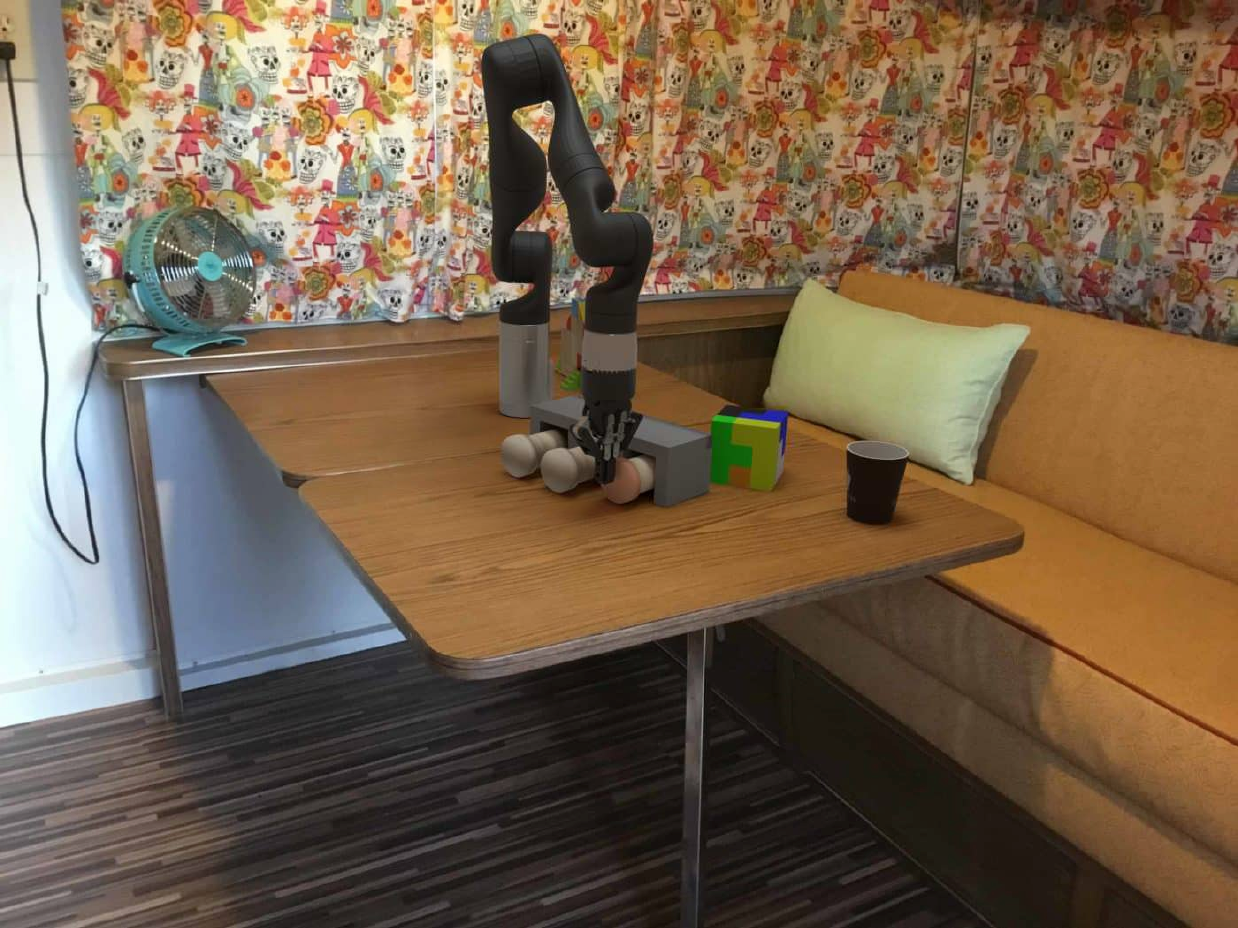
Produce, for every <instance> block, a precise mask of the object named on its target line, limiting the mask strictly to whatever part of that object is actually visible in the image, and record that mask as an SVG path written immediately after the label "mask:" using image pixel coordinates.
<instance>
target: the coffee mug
mask: <svg viewBox="0 0 1238 928" xmlns="http://www.w3.org/2000/svg"><path fill="white" fill-rule="evenodd" d="M909 456H910V452H909V450H908V449H906V448H905V447H902V446H900V445H897V444H894V443H890V442H885V441H879V440H877V441H876V440H859V441H852V442H850V443H848V444H847V445H846V515H847V517H848V518H849V519H851V520H853V521H855V522H858V523H861V524H865V525H866V524H867V525H876V526H877V525H878V526H879V525H886V524H889V523H891V522H892V521H893V518H894V514H895V510H896V507H897V502H898V499H899V494H900V491H901V488H902V484H903V481H904V476H905V471H906V468H907V464H908V460H909Z"/></svg>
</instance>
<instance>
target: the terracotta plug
mask: <svg viewBox="0 0 1238 928" xmlns="http://www.w3.org/2000/svg"><path fill="white" fill-rule="evenodd" d="M655 469H656V457H653V456H650V455H647V454H645V455H641V456H638V457H635V458H631V459H626V458H617V459H616V470H615V471H616V474H615V477H614V482H613V483H609V484H606V485H604V484H601V483H600V486H601V489H602V491H603V493H604V495H605V496H606V497H607V499H608V500H609V501H611V502H612V503H614V504H618V505H621V504H625V503H629V502H631V501H633V500H636V498H637V497H638V496H639V495H640V494H642V493H645V492H647V491H651V490H653V489H655Z"/></svg>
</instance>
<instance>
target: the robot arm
mask: <svg viewBox="0 0 1238 928" xmlns="http://www.w3.org/2000/svg"><path fill="white" fill-rule="evenodd" d="M480 60H481V61H480V71H481V72H480V73H481V80H482V81H481V82H482V89H483V97H484V105H485V112H486V120H487V131H488V133H487V134H488V179H489V189H490V201H491V203H490V204H491V213H492V214H491V215H492V219H491V221H492V222H491V241H490V243H491V247H490V260H491V261H490V263H491V269H492V274H493V276H494V277H495V278H496V280H497V281H499V282H501V283H506V284H532V285H533V287H532V289H530V291H529V292H527V293H526V294H524V295H522V296H520V297H517V298H514V299H511V300H507V301H506V302H503V303H502V304H501V305H500V306H499V311H498V312H499V314H498V315H499V321H498V322H499V323H498V329H499V330H498V333H499V335H498V337H499V345H498V347H499V353H498V354H499V357H498V360H499V364H498V365H499V366H498V367H499V368H498V369H499V371H498V372H499V374H498V375H499V378H498V380H499V383H498V384H499V388H498V389H499V393H498V394H499V405H498V406H499V407H498V409H499V413H501V415H502V414H503V415H504V416H508V417H513V418H530V405H534V404H539V403H543V402H547V401H552V400H554V398H553V397H554V362H553V360H551V359H550V351H551V350H550V343H551V287H552V286H551V282H552V272H553V271H552V270H553V269H552V268H553V241H552V237H551V235H550V234H549V233H548V232H546V231H539V230H538V231H535V230H518V229H517V228H519V227H520V226H521V225H522V224H523V223H525V221H526V220H528V219H529V218H530V217H531V216H532V215H533V214H534V213H535V212H536V210H537V209H539V207H540V206H541V204H543V203H542V202H543V201H544V199H545V196H546V194H547V186H548V181H547V180H548V178H547V177H548V170H549V173H550V176H551V178H552V181H553V182H554V184H555V186H556V188H557V190H558V192H559V193H560V195H561V198H562V200H563V202H564V203H565V205H566V211H567V216H568V221H569V226H570V232H571V234H570V235H571V241H572V246H573V250H574V252H575V254H576V255H577V257H578V258H579V259H580V261H582V262H583V263H584V264H585V265H587V266H589V267H591V268H596V269H597V268H601V269H602V268H612V271H611V273H610V276H609V277H608V279H606V280H605V281H602V282H600V283H597V284H595V285H592V286H590V287H589V288H588V289H587V290H586V292H585V297H586V298H585V329H584V337H583V342H582V364H581V390H580V394H581V397H583V398H584V400H585V404H584V407H583V410H582V418H581V420H580V421H579V422H578V424H577V425H575V424H571V425H570V427H569V431H570V433H571V434H572V436H573V438H574V439H575V441H576V442H577V444H578V445H579V447H580V448H581V450H582V451H583V453H584V454H585V455H589V456H592V457H594V458H595V475H594V476H595V478H594V479H595V480H596V482H597V483H598V484H600V485H601V484H604V485H606V484H609V483H613V482H614V477H615V474H616V471H615V470H616V458H617V457H618V455H619V452H621V451H626V450H627V448H628V446H629V444H630V442H631V440H632V438H633V436H634V435H635V433H636V431H637V429H638V427H639V425H640V423H641V421H642V419H643V415H644V414H643V415H642V413H641V412H637V411H635V410H634V409H633V402H632V401H631V399H632V400H633V398H634V397H635V395H636V389H637V388H636V386H637V368H638V367H637V365H638V340H637V339H638V338H637V324H638V302H639V297H640V296H641V292H642V289H643V286H644V282H645V278H646V276H647V272H648V270H649V265H650V263H651V260H652V255H653V252H654V241H655V239H654V238H655V237H654V231H653V229H652V226H651V224H650V222H649V220H648V219H647V217H646V216H644V214H642V213H640V212H637V211H607V210H608V209H609V208H610V207H611V206H612V205H613V203H615V199H616V195H617V193H616V192H617V191H616V186H615V183H614V181H613V179H612V177H611V175H610V173H609V171H608V169H607V167H606V165H605V164H604V162H603V160H602V158H601V157H600V155H599V153H598V150H597V149H596V147H595V145H594V143H593V140H592V139H591V136H590V134H589V131H588V128H587V125H586V122H585V120H584V117H583V113H582V111H581V108H580V105H579V103H578V99H577V96H576V93H575V90H574V89H573V85H572V83H571V81H570V78H569V74H568V72H567V69H566V67H565V63H564V61H563V58H562V55H561V54H560V52H559V49H558V48H557V46H556V44H555V43H554V41H553V40H552V39H551V37H549V36H548V35H547V34H545V33H532V34H527V35H522V36H518V37H513V38H511V39H505V40H502V41H498V42H495V43H492V44H489V45H488V46H486V47H485V48H484V50H483V51H482V54H481V59H480ZM546 102H550V103H551V104H552V106H553V111H554V118H553V119H554V120H553V124H552V129H551V133H550V138H549V142H548V148H547V156H546V155H545V152H544V150H543V149H542V148H541V145H539V143H538V142H537V141H536V140H535V139H534V138H533V137H532V136H531V135H530V134H529V133H528V132H527V131H525V130H524V129H523V128H522V127H521V126H520V125H519V124H518V123H517V121H516V120H515V118H513V114H514V113H515V111H516V110H521V109H524V108H527V107H531V106H535V105H538V104H543V103H546ZM624 434H625V436H624V438H623V435H624Z"/></svg>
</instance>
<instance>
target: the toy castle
mask: <svg viewBox="0 0 1238 928" xmlns="http://www.w3.org/2000/svg"><path fill="white" fill-rule="evenodd" d="M585 298H586V296H585V297H572V298H571V314H570V315H569V316H568V318H567V321H566V325H561V329H560V331H561V334H560V335H561V336H560V357H559V358H558V360H557V363H556V365H554V368H555V367H556V368H557V369H558V370H559V371H561V372H562V373H563V374H564V375H566V376H567V377H569V378H566V377H564V382H560V383H559V386H560V385H561V386H562V387H563V388H564V389H565V390H568V391H577V390H576V389H581V364H582V342H583V337H584V329H585ZM562 387H561V388H562ZM563 388H562V389H563ZM564 389H563V390H564ZM565 390H564V391H565ZM631 400H632V401H633V398H632V399H631Z"/></svg>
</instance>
